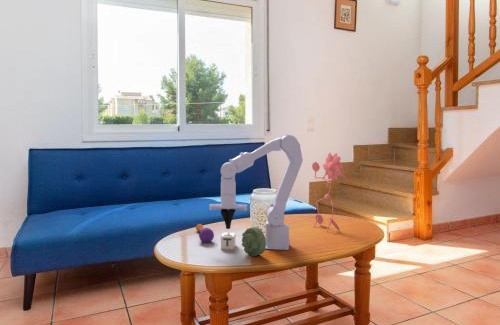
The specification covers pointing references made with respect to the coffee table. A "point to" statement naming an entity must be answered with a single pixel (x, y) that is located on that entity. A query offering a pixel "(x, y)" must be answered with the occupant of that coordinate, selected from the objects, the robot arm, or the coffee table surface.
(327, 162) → the figurine
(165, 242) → the coffee table surface
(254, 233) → the decorative artifact
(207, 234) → the kendama
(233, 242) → the letter cube
